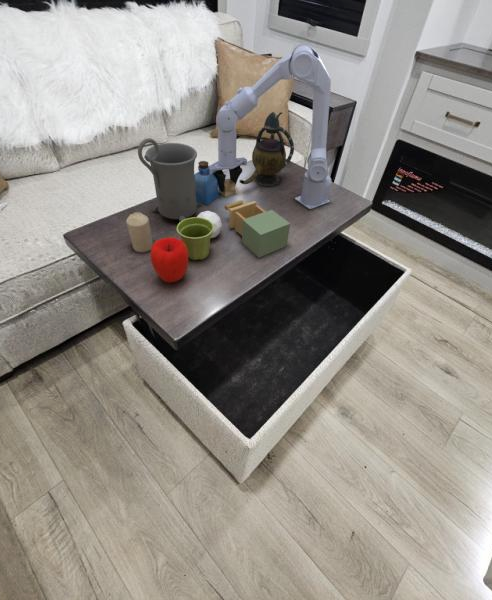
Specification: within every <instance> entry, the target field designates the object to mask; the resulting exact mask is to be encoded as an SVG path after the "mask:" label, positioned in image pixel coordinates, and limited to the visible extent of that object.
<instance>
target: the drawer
mask: <svg viewBox="0 0 492 600" xmlns="http://www.w3.org/2000/svg"><path fill="white" fill-rule="evenodd" d="M224 209H225V211H228V227H229V228H230V229H233V228H234V230H235V231H236V232H237V233H238V234H239V235H240V236H242V229H243V220H244V219H247V218H250V217H253V216H256V215H258V214H261V213H264V212H267V211H266V210H265V209H264V208H262V207H261V206H260V205H259V204H257V201H255V200H252V201H248V202H246V203H244V201H243V200H238V201H236V202H235V201H234V202H233V203H229V204H226V205H224Z"/></svg>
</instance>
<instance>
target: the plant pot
mask: <svg viewBox="0 0 492 600" xmlns="http://www.w3.org/2000/svg"><path fill="white" fill-rule="evenodd" d="M213 230H214V226H213V224H212V222H211V221H209V220H207V219H205V218H200V217H197V216H194V217H193V216H191V217H188V218H185V219H184V220H182V221H181V222H180V221H179V223H177V226H176V232H177V234H178V235H179V236H180V238H181V241H183V242H184V243H185V245H186V248H187V251H188V259H190V260H192V261H198V260H204V259H206V258H207V257H208V256H209V254H210V246H211V239H212V238H211V234H212V232H213Z"/></svg>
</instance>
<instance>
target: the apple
mask: <svg viewBox="0 0 492 600" xmlns="http://www.w3.org/2000/svg"><path fill="white" fill-rule="evenodd" d="M149 255H150V262H151V265H152V267H153V269H154V271H155V272H156V274H157V275H158V276H159V278H160V279H161V280H162V281H163V282H166V283H175V282H178V281H180V280H181V279H182V278H183V277H184V276H185V274H186V271H187V269H188V265H189V257H188V251H187V248H186V245H185V243H184V242H183V241H182V239H180V238H177V237H172V236H171V237H164V238H161V239H158V240H156V241H153V245H152V248H151V250H150V254H149Z"/></svg>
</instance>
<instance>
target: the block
mask: <svg viewBox="0 0 492 600" xmlns="http://www.w3.org/2000/svg"><path fill="white" fill-rule="evenodd" d="M218 193H220V194H221V195H222V196H224V197H225V198H227V197H229V196H233V195H236V187H235V183H234V182H233V181H232V180H230V177H229V178H225V183H224V192H221V191H220V190H219V189H218Z"/></svg>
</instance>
